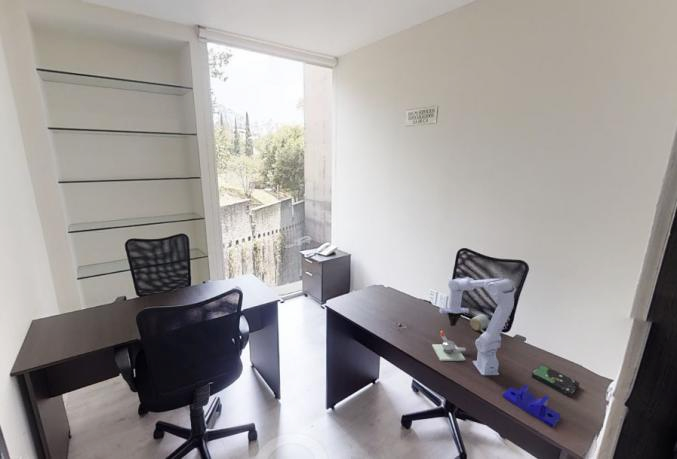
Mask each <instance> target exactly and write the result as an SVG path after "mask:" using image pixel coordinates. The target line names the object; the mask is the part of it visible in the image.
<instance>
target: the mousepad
mask: <svg viewBox="0 0 677 459" xmlns="http://www.w3.org/2000/svg"><path fill="white" fill-rule="evenodd" d="M394 325H395V326H396V329H397V330H402V329H407V328H408V327H407V326H406V325H405V324H402V322H398V323H397V324H396V323H394Z"/></svg>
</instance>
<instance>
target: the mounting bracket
mask: <svg viewBox="0 0 677 459" xmlns="http://www.w3.org/2000/svg"><path fill="white" fill-rule="evenodd" d="M502 398H503V399H505V400H507V401H509V403H512V404H513V405H515V406H517V407H518V408H519V409H521V408H522V410H523V411H525V412H526V411H527V412H526V413H527V414H529V415H531V416H532V417H534V418H536V419H538V420H539V419H540V420H539V421H541V420H542V421H541V422H543V423H544V424H545V425H547V424H548V425H547V426H549V427H551V428H552V427H553V428H555V426H556V425H557V423H558V422H559V421H560V419H561V418H562V415H561V414H560V413H558V412H557V411H555V410H553V409H552V408H550V407H548V402H549V396H547V395H544V397H542V398H538V397H535V396H534V395H533V394H532V393H531V391H530V390H529V386H528V385H526V384H524V385H523V386H522V387H521V388H520V389H519V390H518V389H516V388H515V387H513V386H510V387H508V389H507V390H505V392H504V393H502Z"/></svg>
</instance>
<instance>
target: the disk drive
mask: <svg viewBox="0 0 677 459" xmlns="http://www.w3.org/2000/svg"><path fill="white" fill-rule="evenodd" d="M531 378H533V379H534V380H535V381H538V382H540V383H542V384H544V385H546V386H547V387H549V388H552V389H553V390H555V391H557V392H559V393H560V394H562V395H564V396H565V397H568V398H571V396H572V395H573V394H574V393H575V392H576V391H577V390H578V388H579V386H580V382H579V381H577V380H576V379H573V378H571V377H569V376H567V375H564V374H562V373H561V372H558V371H557V370H554V369H553V368H550V367H549V366H546V365H544V364H542V363H541V364H540V365H539V366H538V367H537V368H536V369H534V370H533V371H532V373H531Z"/></svg>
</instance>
